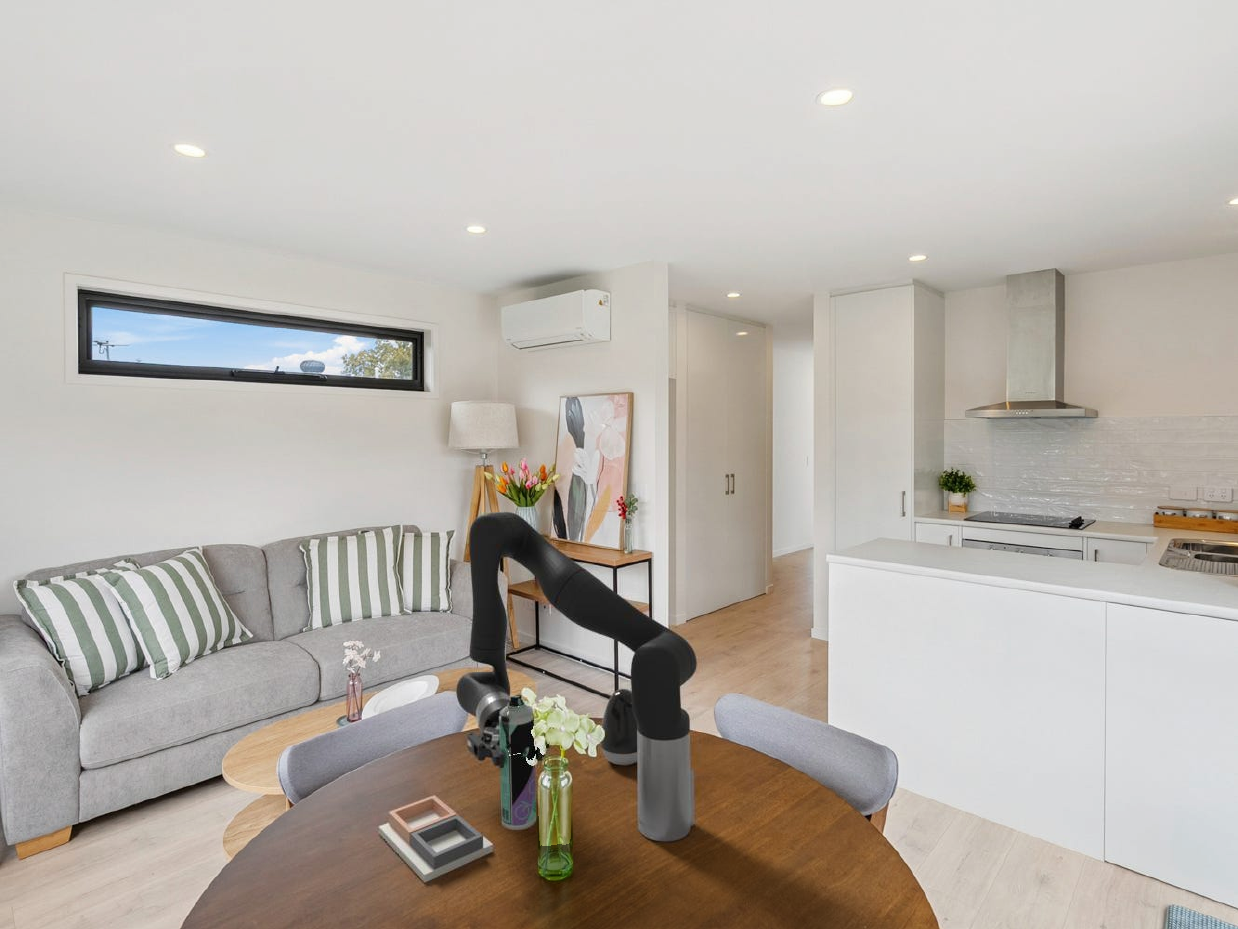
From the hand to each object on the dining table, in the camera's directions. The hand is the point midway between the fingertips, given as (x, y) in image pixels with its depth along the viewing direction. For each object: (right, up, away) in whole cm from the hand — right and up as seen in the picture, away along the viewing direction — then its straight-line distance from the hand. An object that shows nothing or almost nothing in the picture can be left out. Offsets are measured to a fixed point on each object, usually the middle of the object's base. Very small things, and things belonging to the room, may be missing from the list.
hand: (521, 758), depth 104 cm
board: (-16, -18, +9) cm, 26 cm away
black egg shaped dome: (+16, -18, +39) cm, 46 cm away
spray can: (-1, -11, +2) cm, 11 cm away
